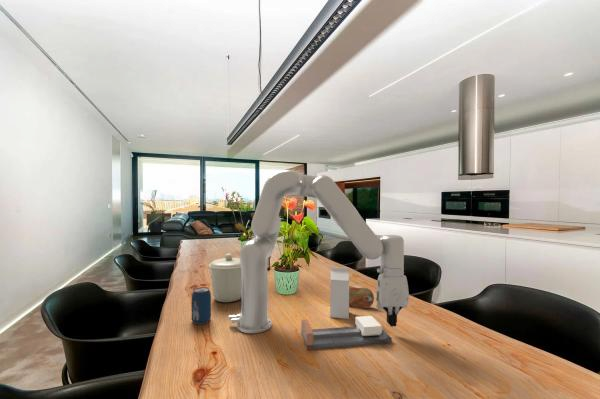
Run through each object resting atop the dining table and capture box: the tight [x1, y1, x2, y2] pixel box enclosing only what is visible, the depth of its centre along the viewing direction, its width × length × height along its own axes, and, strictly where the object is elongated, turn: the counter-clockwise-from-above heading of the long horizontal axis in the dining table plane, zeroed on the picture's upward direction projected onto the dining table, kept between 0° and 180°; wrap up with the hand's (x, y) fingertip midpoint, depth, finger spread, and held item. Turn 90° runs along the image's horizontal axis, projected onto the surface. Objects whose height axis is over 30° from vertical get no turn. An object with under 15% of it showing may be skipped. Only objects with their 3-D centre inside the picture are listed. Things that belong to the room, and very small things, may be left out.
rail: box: [301, 319, 393, 351], centre depth 93 cm, size 28×10×5 cm, turn 99°
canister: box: [208, 252, 242, 303], centre depth 130 cm, size 18×18×21 cm
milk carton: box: [329, 266, 350, 320], centre depth 112 cm, size 7×7×19 cm
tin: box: [349, 285, 375, 309], centre depth 122 cm, size 15×3×8 cm, turn 68°
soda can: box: [191, 286, 212, 325], centre depth 106 cm, size 7×7×12 cm
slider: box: [354, 315, 383, 336], centre depth 94 cm, size 6×8×4 cm
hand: (391, 324), depth 95 cm, fingers closed
